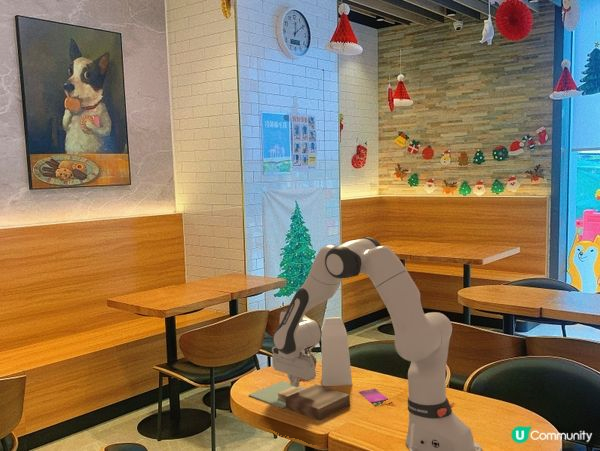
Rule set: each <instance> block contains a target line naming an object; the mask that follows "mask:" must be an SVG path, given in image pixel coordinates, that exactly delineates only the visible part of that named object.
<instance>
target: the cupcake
mask: <svg viewBox="0 0 600 451" xmlns="http://www.w3.org/2000/svg"><path fill="white" fill-rule="evenodd" d="M304 351H305V354H309V355H310V356H311V357H312V358H313V361H314V365H315V368H316V367H317V366H316V365H317V363H318V362H317V358H316V357H315V354H314V353H313V352H312V349H311V348H310V347H307V348H304Z"/></svg>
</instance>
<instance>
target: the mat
mask: <svg viewBox="0 0 600 451" xmlns="http://www.w3.org/2000/svg"><path fill="white" fill-rule="evenodd" d="M291 387H294V386H291V385H290V382H287V381H284V380H282V381H278V382H277V383H274V384H271V385H269V386H267V387H264V388H262V389H259V390H257V391H254V392H252V393H249V394H248V396H249V397H250V396H251V398H254V399H256V400H259V401H260V402H263V403H266V404H267V403H268V404H269V405H271V406H275V407H278V408H281V409H287V408H286V401H285V400H282V399H279V398H278V393H279V392H282V391H284V390H286V389H289V388H291ZM296 388H299V389H302V390H304V389H306V388H305V387H302V386H300V385H299V386H298V387H296Z"/></svg>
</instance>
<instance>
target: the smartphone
mask: <svg viewBox="0 0 600 451" xmlns="http://www.w3.org/2000/svg"><path fill="white" fill-rule="evenodd" d="M358 393H359V394H360V395H361V396H362V397H363V398H365V400H367V401H368V402H369V403H370V404H371V405H372V406H374V407H380V406H379V405H380V404H382V403H383V402H384V401H386V400H388V399H389V398H388V397H386V396H385V395H384V394H382V393H381V391H379V390H378V389H376V388H371V389H366V390H360V391H359V392H358Z"/></svg>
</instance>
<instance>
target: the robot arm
mask: <svg viewBox="0 0 600 451" xmlns="http://www.w3.org/2000/svg"><path fill="white" fill-rule="evenodd" d="M361 274H364V275H366V276H367V277H368V278H369V280H370V281H371V282H372V284H373V286H374V288H375V289H376V292H377V294H378V295H379V297H380V298H381V300H382V302H383V304H384V306H385V307H386V309H387V312H388V314H389V315H390V316H389V317H390V320H391V323H392V327H393V330H394V348H395V351H396V352H397V354H398V356H400V357H401V358H402V359H403V360H405V361H407V362H410V365H409V368H408V372H407V383H408V384H407V386H408V387H407V388H408V389H407V390H408V396H407V410H408V429H407V434H406V438H405V445H406V446H407V448H408V450H409V451H483V449H482V445H481V444H480V443H478V442H476V441H474V437H473V432H472V430H471V428H470V427H469V426H468V425H467V424H465V422H464V421H462V419H460V418H459V417H458V415H456V413H455V412H454V411H453V409H452V408H454V407H455V402H452V403H451V404H450V402H449V399H448V397H447V392H446V391H447V386H446V384H447V383H446V382H447V381H446V368H447V363H448V362H447V361H448V356H449V355H448V354H449V348H450V347H449V346H450V340H451V336H452V332H453V325H452V322H451V320H450V319H449V317H447V316H446V315H445V314H443V313H441V312H437V311H436V312H435V311H434V312H433V311H432V312H427V313H425V312H424V309H423V307H422V306H423V305H422V302H421V292H420V290H419V288H418V286H417V285H416V283H415V282H414V280H413V278H412V277H411V274H410V273H409V272H408V270H407V268H406V267H405V265H404V264H403V263H402V261H401V260H400V258H399V257H398V256H397V255H396V253H395V252H394V251H393V250H392V249H391V248H390V247H389V246H386V245H381V243H380V242H379V241H378V240H377V239H376V238H374V237H369V236H368V237H367V236H366V237H361V238H358V239H354V240H348V241H346V242H343V243H340V244H338V245H333V244H328V245H323V246H322V247H321V248H320V249H319V251H318V252H317V254H316V256H315V257H314V260H313V262H312V265H311V268H310V270H309V273H308V274H307V276H306V279H305V281H304V282H303V284H302V285H301V287H300V288H299V289H298V290H297V291H296V292H295V294H294V296H292V297H293V298H292V299H291V301H290V303H289V306H288V308H285V309H283V310H281V312H280V314H279V325H278V326H277V327H276V329H275V330H274V333H273V336H272V337H273V338H272V343H273V345H274V346H273V347H272V348H271V352H272V358H271V360H272V368H273V369H274V371H277V372H280V373H283V374H287V378H288V380H289V381H290V382H289V383H290V385H291V386H294V387H298V386H300V381H301V379H303V380H306V381H311V380H314V379H315V378H316V375H317V374H316V373H317V372H316V367H315V365H314V361H313V358H312V357H311V356H310V355H309V354H305V351H304V349H308V348H310V347H312V346H315V345H317V344H319V343H320V342H321V337H322V328H321V327H322V326H321V325H320V324H319V322H317V321H316V320H315V319H311V318H309V317H308V316H306V314H307V312H308V311H310V310H311V309H313V308H315V307H316V306H317V305H320V304H322V303H324V302H326V301H328V300H330V299H332V298H333V297H334V296H335V295H336V294H337V291H338V290H339V287H340V284H341V282H342V279H350V278H353V277H357V276H359V275H361Z"/></svg>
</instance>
